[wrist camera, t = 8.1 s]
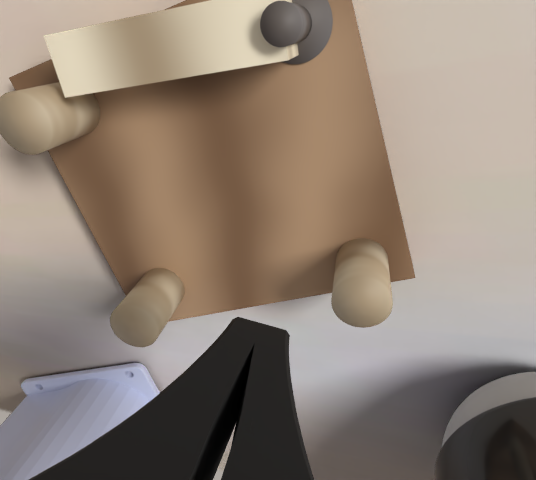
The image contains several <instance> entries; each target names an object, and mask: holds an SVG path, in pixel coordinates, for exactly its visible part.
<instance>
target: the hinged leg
mask: <svg viewBox="0 0 536 480" xmlns="http://www.w3.org/2000/svg"><path fill="white" fill-rule="evenodd" d="M311 28H312V18H311V15H310V13H309V11H308V10H307V9H306V8H305V7H303V6H301V5H298V4H294V3H292V0H209V1H205V2H200V3H195V4H190V5H186V6H181V7H176V8H172V9H167V10H162V11H157V12H153V13H148V14H143V15H138V16H134V17H129V18H124V19H119V20H115V21H110V22H105V23H101V24H96V25H91V26H86V27H82V28H77V29H72V30H67V31H63V32H58V33H53V34H48V35H44V38H45V41H46V44H47V47H48V50H49V53H50V56H51V59H52V61H53V64H54V67H55V70H56V73H57V76H58V79H59V82H60V84H61V87H62V90H63V93H64V96H65V98H66V97H72V96H78V95H84V94H90V93H96V92H102V91H108V90H114V89H120V88H126V87H132V86H138V85H144V84H150V83H156V82H162V81H168V80H174V79H180V78H186V77H192V76H198V75H204V74H210V73H216V72H222V71H228V70H234V69H240V68H246V67H252V66H258V65H264V64H270V63H276V62H281V61H287V60H290V59H292V58H294V57H296V56H298V55H299V54H298V45H297V43H298V42H301V41H303V40H304V39H306V38H307V36H308V35H309V33H310V31H311Z"/></svg>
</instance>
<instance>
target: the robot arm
mask: <svg viewBox="0 0 536 480" xmlns="http://www.w3.org/2000/svg"><path fill="white" fill-rule="evenodd" d="M289 337H290V335H289V334H288V332H287V331H286V330H283V329H279V328H276V327H272V326H269V325H265V324H262V323H258V322H254V321H251V320H247V319H244V318H240V317H237V318H235V319H233V320H232V321H231V323H230V324H229V325H228V327H227V328H226V329H225V330H224V332H223V333H222V334H221V335H220V336H219V337H218V339H217V340H216V341H215V342H214V343H213V344H212V345H211V346H210V347H209V348H208V349H207V350H206V351H205V352H204V353H203V354H202V355H201V356H200V357H199V358H198V359H197V360H196V361H195V362H194V363H193V364H192V365H191V366H190V367H189V368H188V369H187V370H186V371H185V372H184V373H183V374H182V375H180V376H179V377H178V378H177V379H176V380H175V381H173V382H172V383H171V384H170V385H169V386H168V387H166V388H165V389H164V390H163V391H162V392H161V393H160V392H159V390H158V388H157V387H156V385H155V383H154V381H153V379H152V378H151V376H150V374H149V372H148V370H147V369H146V367H145V366H144V365H143V364H141V363H131V364H124V365H117V366H110V367H104V368H97V369H90V370H83V371H76V372H69V373H63V374H56V375H49V376H42V377H35V378H28V379H25V380H24V381H23V382H22V384H21V388H22V389H23V391H24V392H25V394H26V395H27V396H26V397H25V398H24V400H23V401H22V402H21V403H20V404H19V405H18V406H17V407H16V408H15V410H14V411H13V412H12V413H11V414H10V415H9V416H8V417H7V418H6V420H5V421H4V422H3V423H2V424H1V425H0V480H213V478H214V476H215V473H216V471H217V468H218V466H219V463H220V461H221V458H222V456H223V454H224V451H225V449H226V446H227V444H228V441H229V439H230V436H231V434H232V432H233V429H234V427H235V424H236V427H235V431H234V436H233V441H232V446H231V450H230V454H229V457H228V460H227V463H226V466H225V469H224V472H223V476H222V478H221V480H314V478H313V475H312V472H311V468H310V465H309V462H308V458H307V454H306V451H305V447H304V443H303V439H302V435H301V431H300V426H299V422H298V417H297V413H296V408H295V402H294V396H293V390H292V383H291V376H290V365H289Z"/></svg>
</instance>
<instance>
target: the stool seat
mask: <svg viewBox="0 0 536 480" xmlns="http://www.w3.org/2000/svg"><path fill="white" fill-rule="evenodd" d="M205 1H209V0H186V1H183V2H181V3H179V4H176V5H174V6H172V7H170V8H167V9H172V8H176V7H181V6H186V5H190V4H195V3H200V2H205ZM292 3H294V4H298V5H301V6H303V7H305V8H306V9H307V10H308V11H309V13H310V15H311V18H312V28H311V31H310V33H309V35H308V36H307V38H306V39H304V40H303V41H301V42H298V43H297V45H298V54H299V55H298V56H296V57H294V58H292V59H290V60H287V61H281V62H276V63H270V64H264V65H258V66H252V67H246V68H240V69H234V70H228V71H222V72H216V73H210V74H204V75H198V76H192V77H186V78H180V79H174V80H168V81H162V82H156V83H150V84H144V85H138V86H132V87H126V88H120V89H114V90H108V91H102V92H96V93H90V94H84V95H78V96H72V97H66V98H65V96H64V93H63V90H62V87H61V84H60V82H59V79H58V76H57V73H56V70H55V67H54V64H53V61H52V59H51V60H49V61H46V62H44V63H42V64H39V65H37V66H35V67H33V68H30V69H28V70H26V71H23V72H21V73H19V74H17V75H14V76H12V77H10V78H9V79H10V81H11V83H12V85H13V86H14V88H15V90H16V91H12V92H8V93H5V94H4V95H2V96H1V97H0V134H1V135H2V137H3V138H4V139H5V141H6V142H7V143H8V144H9V145H10V146H12V147H13V148H14V149H16V150H18V151H19V152H22V153H25V154H29V155H35V154H39V153H42V152H44V151H47V150H48V152H49V153H50V155H51V157H52V159H53V161H54V163H55V165H56V167H57V168H58V170H59V172H60V174H61V176H62V178H63V180H64V181H65V183H66V185H67V187H68V189H69V191H70V193H71V194H72V196H73V198H74V200H75V202H76V204H77V206H78V208H79V209H80V211H81V213H82V215H83V217H84V219H85V221H86V222H87V224H88V226H89V228H90V230H91V232H92V234H93V235H94V237H95V239H96V241H97V243H98V245H99V247H100V249H101V250H102V252H103V254H104V256H105V258H106V260H107V262H108V263H109V265H110V267H111V269H112V271H113V273H114V275H115V276H116V278H117V280H118V282H119V284H120V286H121V288H122V289H123V291H124V293H125V295H126V297H125V298H124V299H123V301H122V302H121V303H120V304H119V305H118V306H117V307H116V309H115V310H114V311H113V312H112V314H111V317H110V324H111V327H112V330H113V331H114V333H115V334H116V336H117V337H118V338H120V339H121V340H122V341H123V342H125V343H127V344H129V345H132V346H135V347H146V346H149V345H151V344H153V343H154V342H155V341H156V339H157V338H158V336H159V335H160V333H161V331H162V330H163V328H164V327H165V325H166V324H167V322H168V321H174V320H179V319H185V318H191V317H196V316H202V315H207V314H213V313H219V312H224V311H230V310H236V309H241V308H247V307H253V306H258V305H264V304H270V303H275V302H281V301H287V300H292V299H298V298H304V297H309V296H315V295H321V294H326V293H332V301H331V302H332V308H333V310H334V312H335V314H336V315H337V317H338V318H339V319H341V320H342V321H343V322H345V323H347V324H349V325H351V326H355V327H371V326H375V325H377V324H380V323H381V322H383V321H384V320H385V319H386V318H387V317H388V316H389V314H390V313H391V310H392V306H393V300H392V291H391V282H394V281H400V280H405V279H411V278H415V274H414V270H413V265H412V260H411V256H410V252H409V247H408V243H407V239H406V234H405V230H404V226H403V221H402V217H401V212H400V208H399V204H398V199H397V195H396V191H395V186H394V182H393V178H392V173H391V169H390V165H389V160H388V156H387V152H386V147H385V143H384V139H383V134H382V130H381V126H380V121H379V117H378V113H377V108H376V104H375V99H374V95H373V91H372V86H371V82H370V78H369V73H368V69H367V65H366V60H365V56H364V52H363V47H362V43H361V39H360V34H359V30H358V26H357V21H356V17H355V13H354V8H353V4H352V0H292ZM167 9H165V10H167Z"/></svg>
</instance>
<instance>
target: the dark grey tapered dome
mask: <svg viewBox="0 0 536 480" xmlns="http://www.w3.org/2000/svg"><path fill="white" fill-rule="evenodd" d="M434 478H435V480H536V372H525V373H518V374H513V375H509V376H505V377H502V378H499V379H496V380H494V381H491V382H489V383H487V384H485V385H483V386H482V387H480V388H479V389H477V390H475V391H474V392H473V393H472V394H470V395H469V396H468V397H467V398H466V399H465V400H464V401H463V402H462V403H461V404H460V405H459V406H458V408H457V409H456V411H455V412H454V414H453V415H452V417H451V419H450V421H449V423H448V425H447V428H446V431H445V434H444V437H443V442H442V448H441V450H440V452H439V454H438V457H437V460H436V464H435V471H434Z"/></svg>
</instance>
